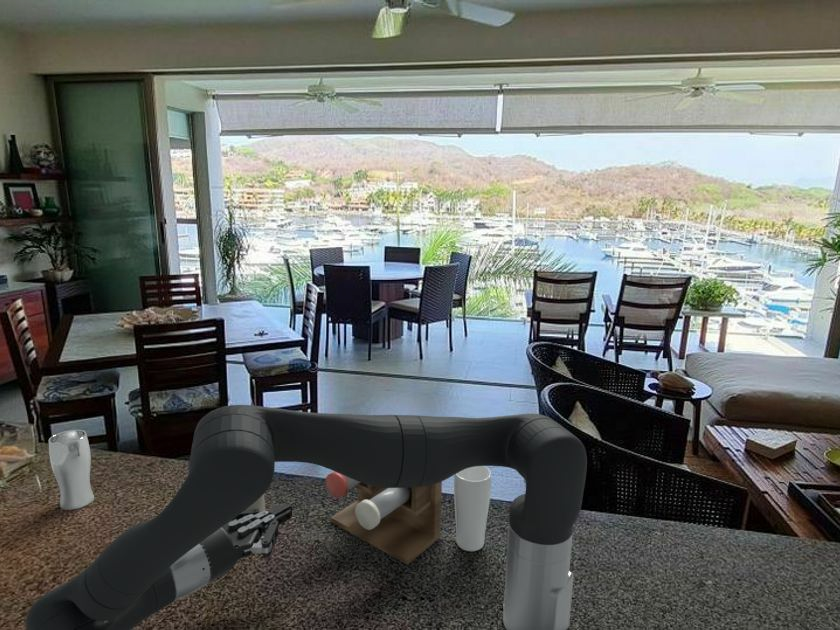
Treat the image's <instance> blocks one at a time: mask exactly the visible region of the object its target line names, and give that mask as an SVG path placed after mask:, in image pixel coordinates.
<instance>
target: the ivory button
mask: <svg viewBox="0 0 840 630" xmlns="http://www.w3.org/2000/svg"><path fill="white" fill-rule="evenodd" d="M410 497H411V492H410V489H409V488H387V489H386V490H384V491H383V492H381V493H379V494H378V495H376V496H375V497H373V498H372V499H370V500H367V499H366V500H363V501H361V502H360V503H358V504H357V505H356V508H355V514H356V518H357V520H358V522H359V523H360V525H361V526H362V527H364V528H365V529H368V530H371V529H373V528H375V527H376V526H377V525H378V524H379V523H380V520H381V519H382V518H384V517H385V516H386V515H388V514H389V513H391V512H392V511H394V510H395V509H397V508H398V507H399V506H401V505H402V504H404V503H405V502H407V501H408V500H409V499H410Z"/></svg>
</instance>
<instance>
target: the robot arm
mask: <svg viewBox="0 0 840 630" xmlns="http://www.w3.org/2000/svg"><path fill="white" fill-rule="evenodd" d="M190 451H191V452H190V456H189V462H188V475H187V476H186V479H185V480H184V481H183V483H182V484H181V486H180V488H179V489H178V491H177V492H176V494H174V497H172V499H171V501H170V502H169V503H168V504H167V505H166V506H165V507H164V509H163V510H162V511H160V512H159V514H157V515H155V516H154V517H152V518H150V519H148V520H145V521H142V522H140V523H137V524H134V526H131V527H129V528H128V529H126V530H125V531H123V532H122V533H121V534H119V536H117V537H116V538H115V539H113V541H112V542H111V543H109V545H107V547H105V548H104V550H103V551H102V552H101V553H100V554H99V555H98V556H97V557H96V558H95V560H93V561H92V562H91V564H90V565H89V566H88V567H87V568H86V569H85V570H83V571H82V572H80V573H79V574H77V575H76V576H74V577H73V578H72V579H69V581H67V582H65V583H63V584H61V585H60V586H58V587H55V588H54V589H52V590H50V591H48V592H46V593H45V594H43V595H42V596H40V597H39V598H37V599H36V600H35V601H34V602H33V603H32V605H31V606H30V608H29V610H28V612H27V614H26V616H25V617H26V618H25V622H24V623H25V627H24V628H25V630H132V629H134V628H135V627H136V626H138V625H139V624H140V623H142V622H143V621H144V620H146V619H147V618H149V617H151V616H153V615H154V614H156V613H158V612H160V611H161V610H163V609H165V608H166V607H168V606H170V605H171V604H173V603H174V602H176V601H178V600H180V599H182V598H185V597H188V596H190V595H191V594H193V593H195V592H196V591H199V589H202V588H204V587H205V586H207V585H209V584H210V583H211V582H213V581H215V580H216V579H218V578H219V577H222V576H223V575H225V574H226V573H229V572H230V571H232V570H233V568H234V566H235V565H236V564H237V562H238V561H239V560H242V559H245V558H249V557H250V556H252V555H253V554H254V553H255V554H257V553H258V554H259V553H260V554H262V558H265V559H266V558H269V557H271V555H272V553H273V550H274V548H275V546H276V543H277V540H278V538H279V536H280V535H279V526H280V525H282V524H283V523H285V522H287V521H288V520H290V519H291V518H292V516H293V507H292V505H291V504H288V503H286V502H285V503H282V504H279V505H277V506H275V507H273V508H271V509H270V510H265V511H262V512H259V509H258V508H253V509H247V508H248V507H250V506H251V505H252V504H253V503H255V502H256V501H257V500H258V499H259V498H260V497H261V496H262V495H263V494H264V495H265V493H266V492H267V491H268V489H269V488H270V486H271V485H272V482H273V479H274V475H275V467H276V466H275V464H276V463H278V462H280V463H282V462H283V463H285V462H286V463H305V464H307V463H308V464H311V465H315V466H316V465H317V466H321V467H323V468H326V469H329V470H330V471H332V472H334V471H335V472H337V473H340V474H342V475H344V476H347V477H349V478H351V479H354V480H356V481H359V482H361V483H364V484H367V485H370V486H375V487H381V488H410V487H426V486H431V485H434V484H437V483H439V482H442V483H443V482H444V481H446V480H448V479H450V478H451V477H453V476H455V474H457V473H458V472H460V471H462V470H464V469H467V468H470V467H475V466H485V467H501V468H502V467H504V468H510V469H512V470H515V471H516V472H517V473H518V474H519V476H521V477H522V478H523V479H524V481H525V492H524V493H522V494H521V495H518V496H517V497H515V498H514V499H513V500H512V502H511V504H510V507H509V510H508V511H509V513H508V514H509V515H508V528H507V533H508V534H507V546H506V547H507V548H506V559H505V560H506V561H505V562H506V564H505V580H504V595H503V598H504V600H503V609H502V610H503V615H502V619H503V620H502V621H503V625H504V628H505V630H568V628H569V627H570V617H571V609H572V608H571V606H572V599H573V587H574V586H573V585H574V577H575V576H574V573H573V572H572V571H570V567H571V566H570V565H571V556H572V555H571V554H572V544H573V542H572V541H573V535H574V534H573V531H574V525H575V523H576V521H577V520H578V517H579V516H580V513H581V510H582V505H583V498H584V490H585V485H586V477H587V469H588V468H587V467H588V456H587V451H586V447H585V445H584V444H583V442H582V441H581V440H580V438H578V437H577V436H576V435H575V434H573V433H572V432H571V431H569V430H568V429H566V428H565V427H563V426H562V425H561V424H560V423H559V422H557V421H556V420H554V419H553V418H551V417H549V416H547V415H543V414H541V413H540V414H539V413H521V414H520V413H519V414H511V415H500V416H492V417H491V416H488V417H461V416H432V415H431V416H430V415H429V416H428V415H415V414H414V415H412V414H411V415H410V414H378V415H377V414H348V413H326V412H325V413H320V412H311V411H310V412H309V411H299V410H291V409H284V408H276V407H271V406H270V407H268V406H261V405H250V404H249V405H248V404H234V405H233V404H231V405H225V406H220V407H217V408H216V409H213V410H210V412H208V413H206V414H205V415H204V416H203V417H202V418H201V419H200V420H199V421H198V423H197V425H196V427H195V430H194V432H193V439H192V444H191V450H190ZM244 516H245V517H244ZM235 519H236V520H235Z"/></svg>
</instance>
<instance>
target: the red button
mask: <svg viewBox="0 0 840 630" xmlns="http://www.w3.org/2000/svg"><path fill="white" fill-rule="evenodd" d="M359 483H361V482H359V481H356V480H354V479H351V478H349V477H347V476H344V475H342V474H340V473H337V472H335V471H331V472H330V473H329V474H327V475H326V477H325V485H326V489H327V491H328V493H329V494H330V495H331V496H332V497H333V498H335V499H340V498H342V497H344V496H346V495H347V494H348V491H349V490H351V489H352V488H355V487H354V486H356V485H358V484H359Z"/></svg>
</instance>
